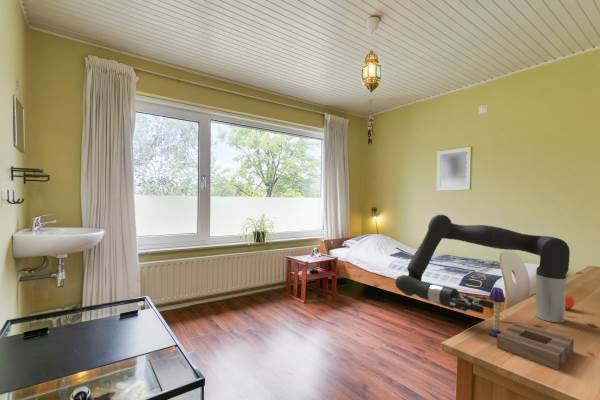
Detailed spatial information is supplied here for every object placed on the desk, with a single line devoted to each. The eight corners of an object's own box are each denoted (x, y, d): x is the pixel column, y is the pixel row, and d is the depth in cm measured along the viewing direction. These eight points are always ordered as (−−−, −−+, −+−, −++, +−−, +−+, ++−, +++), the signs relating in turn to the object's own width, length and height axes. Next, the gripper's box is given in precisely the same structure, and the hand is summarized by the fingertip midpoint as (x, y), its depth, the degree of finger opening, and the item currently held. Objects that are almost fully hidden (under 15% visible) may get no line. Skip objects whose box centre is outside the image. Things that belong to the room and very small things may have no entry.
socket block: (516, 333, 105) (517, 322, 105) (573, 351, 93) (573, 339, 93) (496, 347, 94) (497, 334, 94) (557, 369, 82) (558, 355, 82)
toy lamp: (506, 340, 99) (508, 290, 99) (491, 338, 100) (492, 289, 100) (499, 333, 104) (501, 286, 104) (485, 332, 105) (486, 285, 105)
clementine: (553, 304, 139) (553, 289, 139) (573, 307, 134) (573, 292, 134) (553, 308, 133) (554, 292, 133) (574, 312, 128) (575, 296, 128)
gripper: (434, 288, 113) (480, 301, 100) (452, 283, 122) (496, 294, 109) (433, 308, 113) (479, 323, 100) (451, 301, 122) (496, 314, 109)
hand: (488, 308), depth 104 cm, fingers open, 8 cm apart
